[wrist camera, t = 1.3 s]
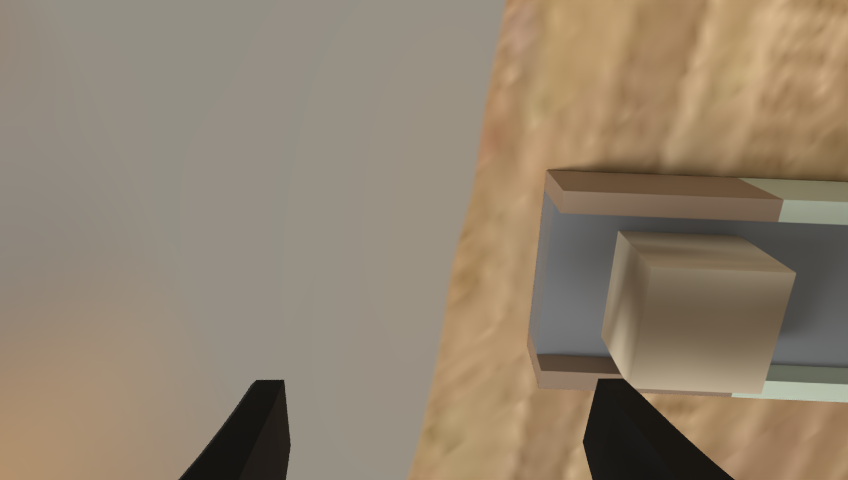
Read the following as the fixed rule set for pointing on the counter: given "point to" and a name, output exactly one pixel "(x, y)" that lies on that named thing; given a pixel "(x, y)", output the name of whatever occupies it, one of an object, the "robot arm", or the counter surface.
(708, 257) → the maple block
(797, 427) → the counter surface
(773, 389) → the board
